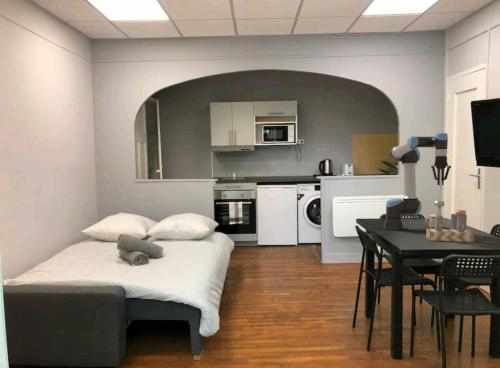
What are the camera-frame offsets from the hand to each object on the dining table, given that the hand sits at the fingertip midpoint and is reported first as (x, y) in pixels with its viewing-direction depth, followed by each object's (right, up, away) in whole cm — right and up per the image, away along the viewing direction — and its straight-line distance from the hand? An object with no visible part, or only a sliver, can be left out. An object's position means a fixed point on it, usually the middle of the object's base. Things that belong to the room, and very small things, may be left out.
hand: (440, 189), depth 298 cm
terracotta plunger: (+14, -28, -1) cm, 31 cm away
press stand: (+7, -34, +1) cm, 35 cm away
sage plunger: (0, -22, +2) cm, 22 cm away
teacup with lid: (+16, -31, +50) cm, 61 cm away
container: (+20, -33, +17) cm, 43 cm away
